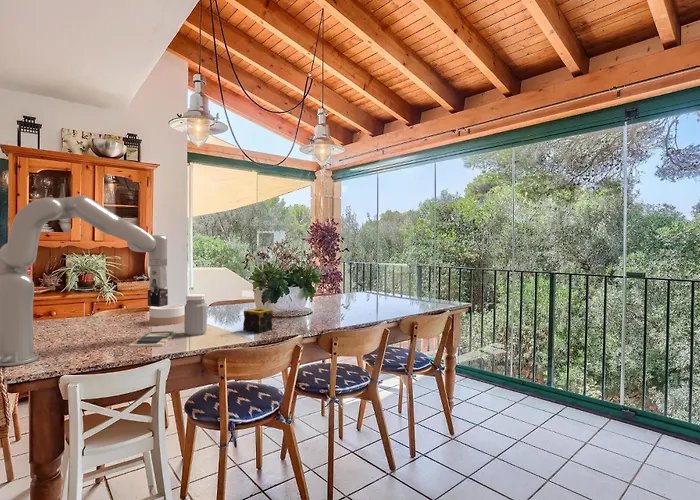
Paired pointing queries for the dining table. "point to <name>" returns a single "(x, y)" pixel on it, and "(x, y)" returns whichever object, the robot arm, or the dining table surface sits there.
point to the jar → (195, 315)
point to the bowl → (167, 314)
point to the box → (162, 298)
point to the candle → (257, 320)
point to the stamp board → (153, 339)
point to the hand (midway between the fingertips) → (157, 302)
